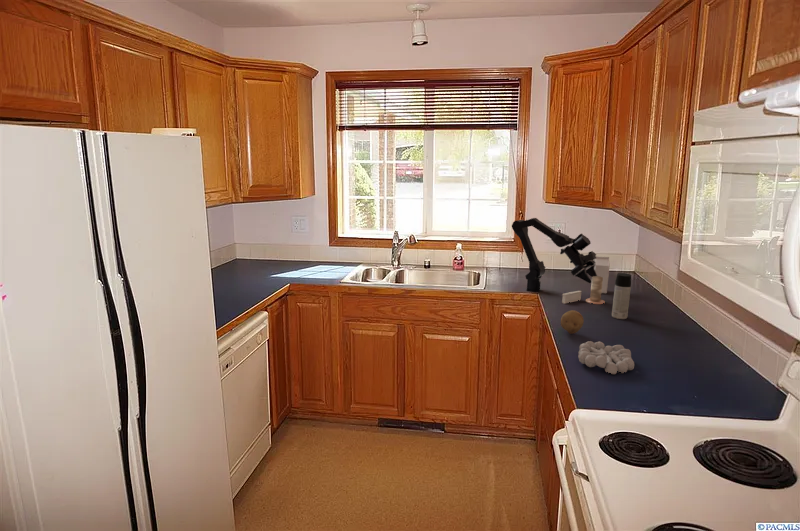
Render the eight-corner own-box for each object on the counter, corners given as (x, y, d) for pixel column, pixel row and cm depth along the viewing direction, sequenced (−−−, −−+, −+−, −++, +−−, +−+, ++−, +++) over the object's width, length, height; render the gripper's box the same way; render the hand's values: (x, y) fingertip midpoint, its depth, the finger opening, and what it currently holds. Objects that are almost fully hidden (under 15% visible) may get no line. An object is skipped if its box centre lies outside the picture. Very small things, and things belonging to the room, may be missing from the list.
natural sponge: (576, 339, 213) (578, 315, 211) (555, 334, 219) (557, 310, 217) (585, 334, 220) (588, 310, 218) (565, 328, 226) (567, 306, 224)
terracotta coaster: (586, 303, 264) (586, 302, 264) (585, 298, 272) (585, 297, 272) (605, 305, 261) (605, 303, 261) (604, 300, 270) (604, 299, 270)
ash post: (592, 302, 264) (594, 278, 262) (588, 299, 269) (590, 276, 267) (602, 302, 264) (604, 278, 262) (598, 299, 269) (600, 276, 267)
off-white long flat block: (564, 303, 263) (565, 294, 262) (561, 302, 264) (562, 293, 263) (580, 300, 269) (581, 291, 268) (577, 299, 271) (578, 290, 270)
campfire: (561, 353, 198) (563, 338, 197) (611, 350, 203) (613, 335, 202) (595, 379, 178) (597, 363, 176) (650, 374, 182) (652, 358, 181)
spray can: (627, 316, 244) (632, 273, 240) (626, 320, 238) (631, 276, 234) (612, 314, 247) (616, 272, 243) (611, 318, 241) (615, 275, 237)
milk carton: (606, 293, 283) (610, 258, 278) (592, 292, 284) (596, 257, 280) (604, 290, 289) (608, 255, 285) (590, 289, 291) (594, 255, 287)
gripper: (579, 249, 258) (600, 275, 254) (593, 244, 272) (613, 268, 268) (562, 262, 265) (582, 288, 260) (577, 256, 279) (595, 281, 274)
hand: (594, 281), depth 266 cm, fingers open, 9 cm apart
